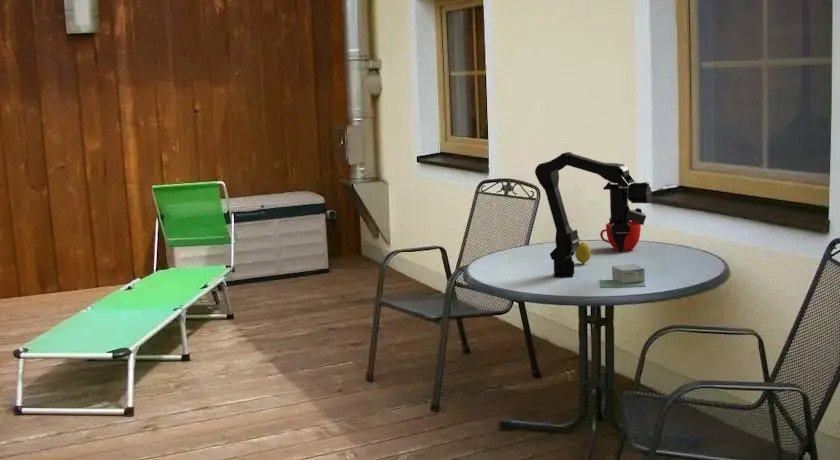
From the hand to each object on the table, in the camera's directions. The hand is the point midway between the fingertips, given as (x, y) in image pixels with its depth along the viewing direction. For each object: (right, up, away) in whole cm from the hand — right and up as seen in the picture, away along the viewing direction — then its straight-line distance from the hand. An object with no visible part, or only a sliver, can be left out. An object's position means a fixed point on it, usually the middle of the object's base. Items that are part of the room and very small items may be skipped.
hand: (620, 249), depth 319 cm
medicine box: (+1, -7, +2) cm, 7 cm away
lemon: (-7, -6, +29) cm, 30 cm away
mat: (0, -11, -5) cm, 12 cm away
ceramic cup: (+10, -1, +49) cm, 50 cm away
